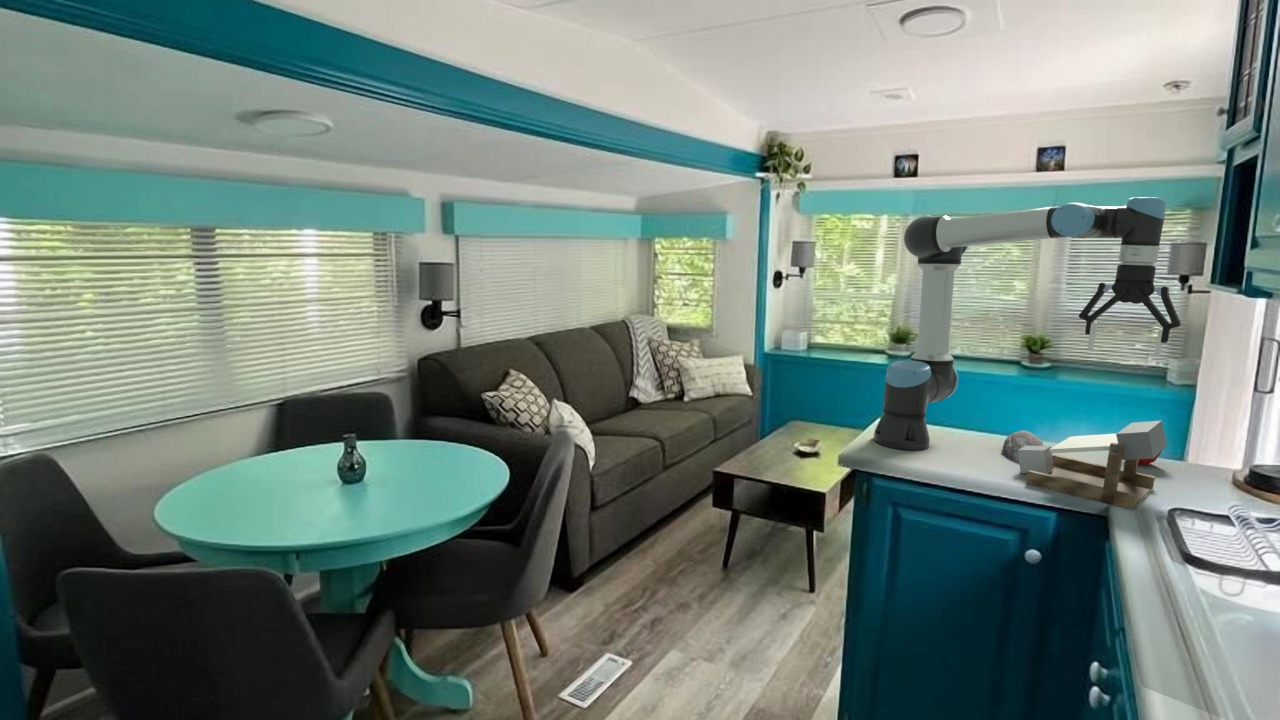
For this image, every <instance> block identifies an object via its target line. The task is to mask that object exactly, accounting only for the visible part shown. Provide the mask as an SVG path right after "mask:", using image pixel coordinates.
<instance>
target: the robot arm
mask: <svg viewBox="0 0 1280 720" xmlns="http://www.w3.org/2000/svg"><path fill="white" fill-rule="evenodd" d="M1166 204H1167V203H1166V200H1165V199H1163V198H1161V197H1151V196H1150V197H1149V196H1147V197H1146V196H1142V197H1131V198H1128V199H1127V202H1126V205H1122V206H1098V205H1097V206H1096V205H1090V204H1085V203H1082V202H1068V203H1064V204H1062V205H1057V206H1048V207H1040V208H1039V207H1038V208H1032V209H1022V210H1015V211H1006V212H998V213H991V214H981V215H973V216H965V217H957V218H950V217H949V216H947V215H942V216H921V217H918V218H915V219H914V220H912V221H911V222H910V223H909V225H907V227H906V228H905V231H904V235H903V241H904V242H903V243H904V246H905V248H906V250H908V252H909V253H910V254H912V255H913V256H915V257H917V266H918V267H919V268H920V269H921V270H922V275H921V289H920V290H921V292H920V304H919V306H920V307H919V321H918V335H917V348H916V349H917V350H916V352H914V353H913V354H912V355H911V358H910V359H911V360H898V361H895V362H892V363H890V364H889V365H888V366H887V368H886V369H887V370H886V373H885V384H884V393H883V394H884V395H883V403H882V404H883V405H882V414H881V416H880V419H879V420H878V423H877V426H876V427H875V430H874V432H873V440H874V442H875V443H877V444H879V445H881V446H884V447H887V448H888V447H889V448H891V449H892V448H893V449H898V450H905V451H920V450H927V449H929V446H930V435H929V431H928V426H927V421H926V418H927V417H926V415H927V409H928V408H927V407H928V405H929V404H931V403H938V402H941V401H944V400H946V399H948V398H949V397H951V396H952V395H953V394H954V393H955V392H956V390H957V389H958V385H959V381H960V379H959V374H958V372H957V370H956V369H955V367H954V361H955V360H954V359H955V358H954V357H953V356H952V355H951V353H950V352H949V351H950V338H951V337H950V335H951V326H952V325H951V323H952V322H951V321H952V313H953V312H952V311H953V309H952V308H953V299H954V296H953V295H954V283H955V272H956V270H957V269H959V268H960V267H961V265H962V255H964V253H966V251H967V249H968V248H969V247H972V246H973V247H974V246H984V245H994V244H995V245H997V244H1004V243H1005V244H1006V243H1013V242H1015V243H1016V242H1025V241H1034V240H1035V241H1037V240H1047V239H1059V238H1060V239H1062V238H1078V239H1086V238H1087V239H1089V238H1090V239H1121V242H1120V248H1119V249H1120V250H1119V254H1118V260H1117V261H1118V262H1120V264H1118V265H1117V266H1116V275H1115V280H1114V283H1112V284H1111V283H1107V282H1100V283H1099V284H1098V287H1097V291H1096V292H1095V293H1094V295H1093V296H1092V297H1091V299H1090V300H1089V302H1087V304H1086V305H1085V307H1083V309H1082V311H1081V312H1080V313H1079V315H1078V318H1079V319H1082V320H1083V321H1085V322H1086V325H1085V330H1084V332H1085V333H1084V334H1085V335H1088V342H1087V343H1088V344H1087V349H1090V350H1091V349H1094V348H1095V343H1096V336H1097V335H1096V334H1097V330H1098V329H1097V328H1098V321H1095V320H1097V319H1098V318H1099V317H1101V316H1102V315H1103V314H1104V313H1105V312H1107V311H1108V310H1109V309H1111V308H1112V307H1113V306H1114V305H1115V304H1117V303H1119V302H1120V303H1124V304H1126V303H1127V304H1129V303H1131V304H1135V305H1139V304H1143V305H1144V306H1145V307H1146V309H1147V310H1148V311H1149V312H1150V314H1151V315H1152V316H1153V318H1155V320H1156V321H1157V322H1158V324H1160V326H1161V327H1162V328H1158V331H1157V336H1156V342H1155V347H1154V348H1155V349H1154V353H1153V357H1156V358H1157V357H1160V356H1161V353H1162V348H1163V343H1165V344H1167V343H1168V342H1169V341H1170V340H1169V338H1170V333H1171V330H1172V329H1175V328H1178V327H1181V326H1182V323H1181V320H1180V318H1179V316H1178V314H1177V311H1176V308H1175V305H1174V304H1173V302H1172V299H1171V297H1170V287H1169V286H1167V285H1164V286H1155V284H1154V281H1155V275H1156V269H1157V267H1156V265H1154V264H1157V262H1158V259H1159V252H1160V242H1161V238H1162V237H1161V236H1162V233H1163V232H1162V231H1163V225H1164V221H1165V220H1166V217H1165V213H1166ZM1109 290H1111V291H1112V292H1113V294H1114V295H1113V296H1112V297H1111V298H1110V299H1109V300H1108V301H1107V302H1105V303H1104V304H1103V305H1102V306H1100V307H1099V308H1098V309H1096V310H1095V311H1094V312H1092V310H1093V309H1094V308H1095V306H1096V305H1097V303H1099V301H1101V298H1102V297H1103V296H1104V294H1105V293H1107V292H1109ZM1154 293H1156V294H1157V296H1159V297H1160V298H1161V301H1162V304H1163V305H1164V309H1165V310H1166V312H1167V315H1168V317H1169V319H1170V321H1168V319H1167V318H1166V317H1165V316H1164V314H1162V312H1161V311H1160V310H1159V309H1158V307H1157V306H1156V304H1154V302H1153V300H1152V299H1151V298H1150V297H1151V296H1152V294H1154ZM1091 312H1092V314H1090V313H1091ZM1089 314H1090V315H1089Z"/></svg>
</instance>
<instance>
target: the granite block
mask: <svg viewBox="0 0 1280 720" xmlns="http://www.w3.org/2000/svg"><path fill="white" fill-rule="evenodd" d="M1050 448H1052V445H1044V446H1024V447H1022V448H1021V449H1019V450H1018V454H1019V462H1018V463H1019V470H1020V471H1019V472H1022V473H1021V474H1027V471H1028V470H1032V471H1037V472H1041V473H1045V474H1048V473H1049V472H1051V471H1052V470H1054V466H1053V457H1052V455H1053V453H1050V451H1049V449H1050Z"/></svg>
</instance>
